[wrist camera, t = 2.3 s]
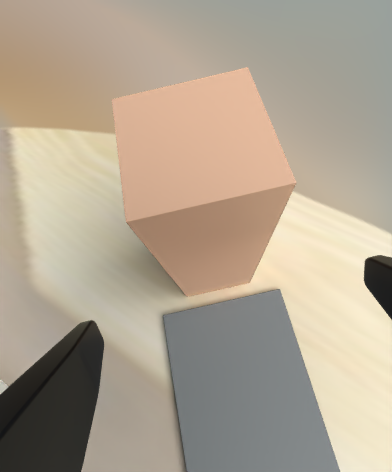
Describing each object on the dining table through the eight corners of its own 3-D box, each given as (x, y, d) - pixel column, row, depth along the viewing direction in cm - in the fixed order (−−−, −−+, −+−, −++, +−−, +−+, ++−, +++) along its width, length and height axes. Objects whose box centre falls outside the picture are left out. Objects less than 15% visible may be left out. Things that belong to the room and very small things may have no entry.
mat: (378, 593, 14) (382, 598, 14) (212, 629, 14) (211, 635, 14) (279, 289, 20) (279, 289, 20) (163, 315, 20) (163, 315, 20)
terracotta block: (249, 282, 20) (296, 182, 8) (187, 296, 20) (125, 222, 8) (233, 225, 22) (247, 67, 9) (176, 238, 22) (111, 99, 9)
